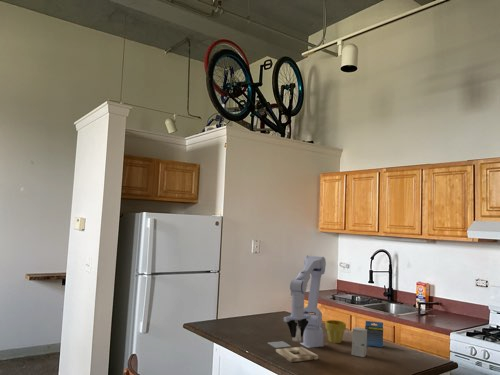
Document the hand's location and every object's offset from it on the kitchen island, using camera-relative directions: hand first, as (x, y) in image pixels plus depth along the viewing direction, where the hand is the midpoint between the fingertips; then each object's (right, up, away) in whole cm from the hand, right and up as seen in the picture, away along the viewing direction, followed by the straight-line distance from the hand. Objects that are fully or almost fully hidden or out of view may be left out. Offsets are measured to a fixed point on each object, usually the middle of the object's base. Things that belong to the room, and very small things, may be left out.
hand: (297, 336), depth 191 cm
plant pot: (+23, -12, +26) cm, 36 cm away
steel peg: (0, -2, 0) cm, 2 cm away
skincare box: (+29, -10, +4) cm, 31 cm away
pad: (-7, -10, +15) cm, 19 cm away
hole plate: (0, -8, -1) cm, 8 cm away
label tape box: (+41, -12, +21) cm, 48 cm away
